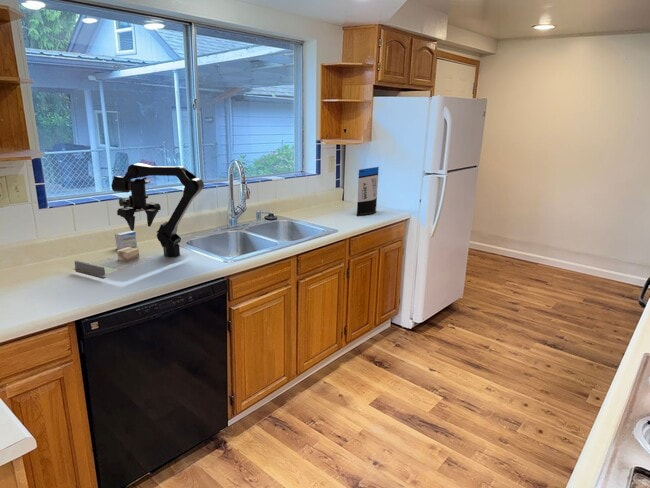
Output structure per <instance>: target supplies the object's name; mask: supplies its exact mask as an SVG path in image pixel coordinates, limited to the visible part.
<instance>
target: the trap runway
mask: <svg viewBox="0 0 650 488" xmlns="http://www.w3.org/2000/svg"><path fill="white" fill-rule="evenodd" d="M151 259H152V257H147V256H143V255H142V256H141V255H139V258H138V259H135V260H132V261H129V262H127V261H123V260H118V255H117V254H116V255H113V256H109V257H107V258H105V259H104V258H103V259H101V260H97V261H95V262H91V263H88V262H84V261H80V260H74V262H73V263H74V267H75V273H79V274H82V275H86V276H87V275H88V276H91V277H94V278H98V279H101V280H105V279H106V276H105V275H108V274H110V273H114V272H116V271H119V270H123V269H125V268H129V267H131V266H134V265H136V264H140V263H144V262H145V261H149V260H151ZM106 260H109V261H106ZM102 261H106V262H103V263H99V262H102ZM96 263H99V264H96ZM122 265H127V266H124V267H121V266H122ZM117 267H121V268H118V269H117Z"/></svg>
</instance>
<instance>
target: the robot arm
mask: <svg viewBox="0 0 650 488" xmlns="http://www.w3.org/2000/svg"><path fill="white" fill-rule="evenodd" d="M150 176H154V177H155V176H159V177H160V176H161V177H162V176H163V177H165V176H167V177H171V176H172V177H173V176H174V177H177V178H178V180H179V182H180V183H181V185H183V186H184V188H183V193H182V197H181V199H180V200H179V202H178V204H177V206H176V207H175V209H174V211H173V212H172V214H171V216H170V217H169V219H168V221H165V222H164V223H161V224H160V225H159V227H158V228H159V229H158V230H157V231H156V239H157V240H158V242H159V243H160V245H161V247H162V248H163V249H162V250H163V256H165V257H167V258H176V257H179V256H181V250H180V249H181V248H180V244H179V243H181V241H182V238H181V237H180V235H178V234H177V232H178V226H179V224H180V223H181V221H182V219H183V217H184V215H185V213H186V212H187V210H188V209H189V207H190V205H191V203H192V201H193V200H194V199H195V198H196V197H197V196H198V195H199V194H200V193H201V192H202V191H203V189H204V187H205V183H204V181H203V180H202V179H201V178H199V177H197V176H196V175H195V174H194V173H192V172H191V171H189V170H188V169H187V168H186V167H185V166H183V165H178V166H173V165H171V166H170V165H169V166H166V165H165V166H164V165H163V166H162V165H160V166H159V165H157V166H156V165H150V164H147V163H141V162H138V163H132V164H130V165H128V167H127V171H126V173H125V174H124V176H120V175H114V176H113V180H112V182H111V189H112V191H113V192H115V193H129V192H130V195H129V196H128V199H126V198H125V197H121V198H119V199H118V206H120V208H118V209H117V210H116V215H117V216H120V217H121V218H123V219H125V221H126V223H127V224H128V228H129V229H130V231H134V230H135V225H136V224H135V223H136V222H135V221H136V216H135V213H138V212H145V214H146V221H147V223H146V224H147V226H148V227H152V224H153V222H154V220H155V218H156V215H157V214H158V213H159V211H161V210H162V208H161V204H159V202H152V201H150V202H147V199H149V195H147V194H146V193H147V191H146V184H150V183H151V181H150V180H149V179H148V178H147V177H150ZM134 232H135V231H134Z"/></svg>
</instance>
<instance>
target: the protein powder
mask: <svg viewBox="0 0 650 488" xmlns="http://www.w3.org/2000/svg"><path fill="white" fill-rule="evenodd" d="M379 168H380V167H379V166H376V167H367V168H363V169H362V168H361V169H358V180H357V181H358V182H357V206H356V217H364V216H365V217H366V216H372V215H375V214H376V213H377V201H378V200H377V199H378V187H379V186H378V184H379V183H378V182H379Z"/></svg>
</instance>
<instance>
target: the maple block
mask: <svg viewBox="0 0 650 488" xmlns="http://www.w3.org/2000/svg"><path fill="white" fill-rule="evenodd" d="M139 251H140V250H139V248H137V247H133V248H131V247H127V248H124V249H120V250H119V249H117V250H116V256H117V255H118V260H123V261H127V262H129V261H132V260H135V259H138V258H139V256H140V252H139Z"/></svg>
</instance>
